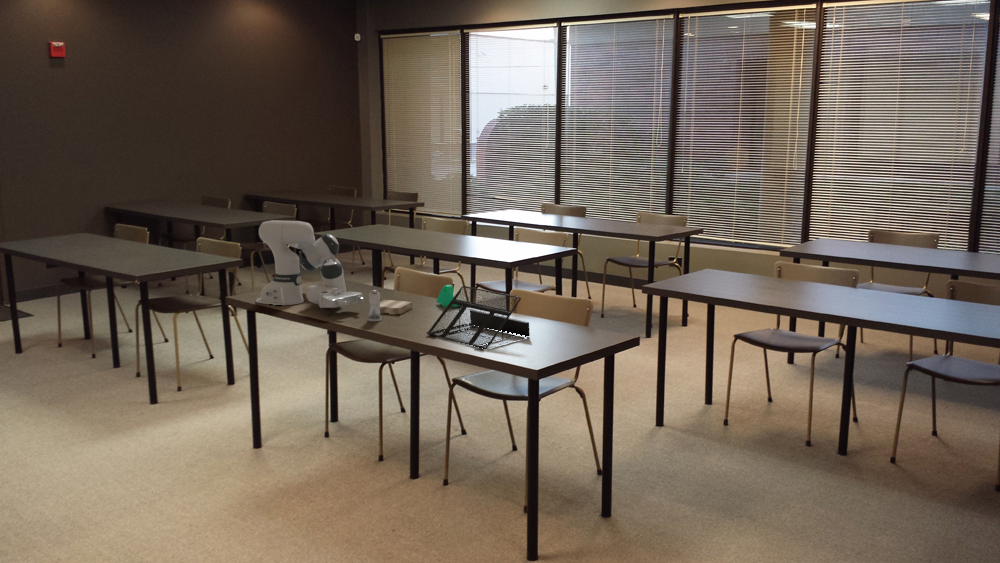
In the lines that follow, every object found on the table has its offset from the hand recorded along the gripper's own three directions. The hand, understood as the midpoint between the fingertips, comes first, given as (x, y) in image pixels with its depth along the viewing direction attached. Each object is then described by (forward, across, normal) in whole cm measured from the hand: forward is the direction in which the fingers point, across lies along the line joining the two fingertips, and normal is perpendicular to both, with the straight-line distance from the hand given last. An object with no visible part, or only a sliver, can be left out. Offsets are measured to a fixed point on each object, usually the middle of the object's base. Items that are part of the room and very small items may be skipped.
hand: (355, 301), depth 364 cm
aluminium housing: (+12, 0, -6) cm, 14 cm away
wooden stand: (+5, -19, -6) cm, 20 cm away
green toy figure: (+19, -44, -7) cm, 48 cm away
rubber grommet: (-8, -22, -7) cm, 24 cm away
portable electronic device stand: (+64, -6, -7) cm, 65 cm away
